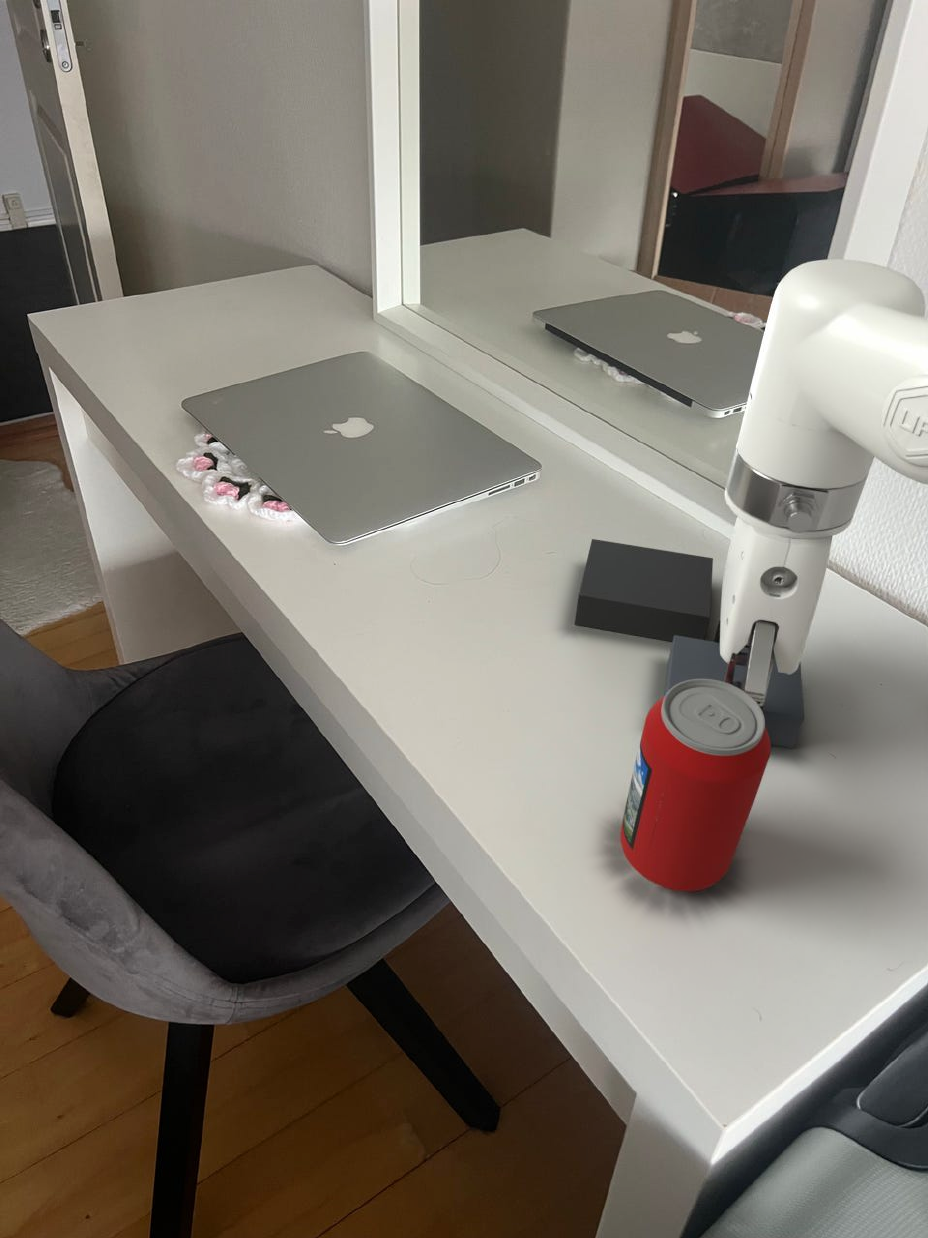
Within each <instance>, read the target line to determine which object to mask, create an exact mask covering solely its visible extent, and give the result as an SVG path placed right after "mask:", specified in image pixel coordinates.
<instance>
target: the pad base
mask: <svg viewBox="0 0 928 1238" xmlns="http://www.w3.org/2000/svg"><path fill="white" fill-rule="evenodd" d="M713 566H714V558H713V557H708V556H701V555H695V554H690V553H683V552H677V551H671V550H664V549H658V548H652V547H646V546H639V545H634V544H633V545H632V544H626V543H620V542H615V541H608V540H602V539H597V538H591V542H590V546H589V550H588V554H587V558H586V563H585V567H584V571H583V575H582V579H581V584H580V587H579V592H578V596H577V603H576V611H575V619H574V625H575V626H580V627H586V628H591V629H596V630H597V629H598V630H603V631H609V632H614V633H619V634H625V635H630V636H637V637H643V638H649V639H654V640H660V641H666V642H671V643H672V642H673V638H674V635H677V636H683V637H688V638H694V639H700V640H705V638H706V634H707V630H708V627H709V623H710V620H711V604H712V586H713V569H714V568H713Z"/></svg>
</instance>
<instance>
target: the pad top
mask: <svg viewBox="0 0 928 1238" xmlns="http://www.w3.org/2000/svg"><path fill="white" fill-rule="evenodd" d="M670 647H671V648H670V651H669V656H668V660H667V664H666V673H665V681H664V693H663V697H664V696H665V695H666V694H667V692H668V691H669V690H670V689H671V688H672V687H673V686H675V685H677V684H679V683H681V682H683V681H687V680H691V679H713V680H718V681H722V679H723V674H724V670H725V665H726V662H725V661H724V659H723V658H722V657H721V655H720V643H716V642H713V641H711V640H705V639H704V640H700V639H694V638H688V637H683V636H677V635H674V638H673V642H671V646H670ZM748 649H749V648H745V647H744V648H743V649H742V650H741V651H740V652H744V653H748ZM745 668H746V666H742V665H736V669H735V673H734V678H733V682H734V681H742V680H743V678H744V674H745ZM802 678H803V677H802V665H801V662H800V663H799V666H798V669H797V670H796V671H795V672H794V673H792V674H790V675H788V674H786V673H780V672H778V669H777V664H776V659H775V658H774V663H773V667H772V671H771V676H770V680H769V684H768V689H767V693H766V697H765V703H764V706H763V709H762V712H763V715H764V718H765V727H766V730H767V732H768V735H769V738H770V744H771V746H777V747H781V748H785V749H786V748H787V749H794V746H795V744H796V741H797V738H798V736H799V734H800V731H801V728H802V725H803V723H804V720H805V711H804V693H803V679H802Z"/></svg>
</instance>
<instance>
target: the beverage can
mask: <svg viewBox="0 0 928 1238" xmlns="http://www.w3.org/2000/svg"><path fill="white" fill-rule="evenodd" d="M771 746H772V745H771V744H770V738H769V735H768V732H767V730H766V727H765V718H764V715H763V712H762V710H761V708H760V707H759V705H758V704H757V703H756V701H755V700H754V699H753V698H752V697H751V696H749V695H748V694H747V693H745V692H744V691H743V690H741V689H739V688H737V687H735V686H733V685H731V684H728V683H725V682H722V681H718V680H713V679H691V680H687V681H683V682H681V683H679V684H677V685H675V686H673V687H672V688H671V689H670V690H669V691H668V692H667V694H666V695H665V696H664V695H663V697H662V698H660V699H659V700H658V701H656V702H655V703H654V705H652V707H651V708H650V709H649V710H648V712H647V714H646V716H645V720H644V724H643V729H642V733H641V737H640V741H639V745H638V749H637V754H636V758H635V762H634V767H633V771H632V775H631V781H630V783H629V789H628V795H627V797H626V802H625V808H624V813H623V817H622V822H621V827H620V832H619V834H620V835H619V838H620V845H621V848H622V849H621V850H622V851H623V854H624V856H625V858H626V860H627V861H628V863H629V864H630V865H631V866H632V868H633V869H634V871H636V872H637V873H638V874H640V875H641V876H642V877H643V878H645V879H646V880H648V881H649V882H652V883H653V884H655V885H657V886H660V887H662V888H665V889H668V890H673V891H680V892H694V891H701V890H704V889H707V888H710V887H712V886H713V885H715V884H717V883H718V882H720V880H722V879H723V877H725V875H726V874H727V872H728V871H729V869H730V868H731V867H730V866H731V864H732V861H733V859H734V856H735V854H736V850H737V848H738V846H739V843H740V840H741V837H742V835H743V833H744V830H745V827H746V824H747V822H748V820H749V817H750V814H751V811H752V808H753V806H754V802H755V800H756V797H757V794H758V791H759V788H760V786H761V782H762V780H763V777H764V775H765V774H764V773H765V771H766V768H767V765H768V762H769V759H770V756H771V751H772V747H771Z"/></svg>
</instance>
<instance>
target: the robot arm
mask: <svg viewBox="0 0 928 1238" xmlns="http://www.w3.org/2000/svg"><path fill="white" fill-rule="evenodd" d="M925 315H926V300H925V296H924V293H923V291H922V289H921V288H920V287H919V285H918V284H917V283H916V282H915V281H914V280H913V279H912V278H910V277H909V276H907V275H905V274H904V273H901V272H899V271H897V270H895V269H892V268H890V267H886V266H883V265H880V264H877V263H872V262H868V261H861V260H855V259H843V258H842V259H840V258H833V259H832V258H831V259H829V258H828V259H819V260H811V261H807V262H804V263H801V264H800V265H797V266H796V267H794V268H792V269H790V270H789V271H788V272H787V273H786V274H785V275H784V276H783V277H782V279H781V281H780V282H779V283H778V285H777V287H776V289H775V291H774V294H773V298H772V302H771V304H770V308H769V313H768V317H767V320H766V325H765V330H764V332H763V337H762V341H761V345H760V349H759V352H758V356H757V361H756V364H755V369H754V373H753V376H752V380H751V385H750V389H749V392H748V397H747V401H746V405H745V409H744V413H743V418H742V421H741V425H740V429H739V435H738V438H737V443H736V445H735V449H734V453H733V457H732V461H731V465H730V468H729V472H728V477H727V480H726V485H725V488H724V501H725V503H726V506H728V507H729V510H730V511H731V512H732V513H733V514H734V515H735V516H736V520H735V523H734V528H733V531H732V535H731V540H730V543H729V548H728V552H727V556H726V559H725V560H726V561H725V567H724V572H723V577H722V585H721V587H722V588H721V602H720V619H718V621H717V625H716V629H715V633H714V636H713V640H712V642H716V643H720V655H721V657H722V658H723V659H724V661H725V662H726V665H725V670H724V674H723V679H722V682H725V683H728V684H731V685H733V686H735V687H737V688H739V689H741V690H743V691H744V692H745V693H747V694H748V695H749V696H751V697H752V698H753V699H754V700H755V701H756V703H757V704H758V705H759V707H760V708H761V710H762V709H763V706H764V703H765V697H766V693H767V689H768V684H769V680H770V676H771V671H772V667H773V663H774V658H775V659H776V664H777V669H778V672H780V673H786V674H788V675H790V674H792V673H794V672H795V671H796V670H797V669H798V666H799V663H801V660H802V657H803V653H804V650H805V648H806V647H805V646H806V643H807V641H808V636H809V633H810V630H811V626H812V623H813V620H814V616H815V613H816V610H817V607H818V602H819V600H820V595H821V592H822V589H823V588H822V587H823V584H824V579H825V576H826V573H827V568H828V562H829V558H830V553H831V547H832V542H833V536H836V535H839V534H841V533H843V532H844V531H846V530H847V529H848V528H849V526H850V525H851V524H852V521H853V518H854V515H855V513H856V510H857V508H858V505H859V502H860V499H861V497H862V494H863V490H864V489H865V485H866V482H867V479H868V477H869V474H870V471H871V468H872V465H873V462H874V460H875V459H877V460H879V461H880V462H881V463H882V464H884V465H885V466H887V467H888V468H890V469H891V470H893V471H894V472H896V473H898V474H900V475H902V476H903V477H905V478H908V479H910V480H912V481H915V482H916V483H920V484H924V485H927V486H928V316H925ZM744 647H745V648H749V649H748V653H744V652H740V651H741V650H742V649H743V648H744ZM736 665H742V666H746V668H745V674H744V678H743V680H742V681H734V682H733V678H734V673H735V669H736Z"/></svg>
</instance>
